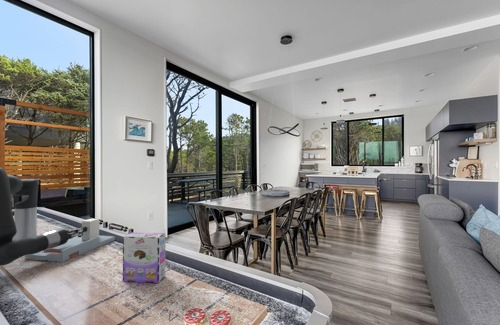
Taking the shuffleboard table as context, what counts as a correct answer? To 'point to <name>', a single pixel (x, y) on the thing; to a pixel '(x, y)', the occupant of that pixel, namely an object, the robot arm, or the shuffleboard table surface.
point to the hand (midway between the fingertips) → (85, 228)
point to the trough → (70, 249)
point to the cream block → (90, 229)
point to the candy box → (144, 257)
